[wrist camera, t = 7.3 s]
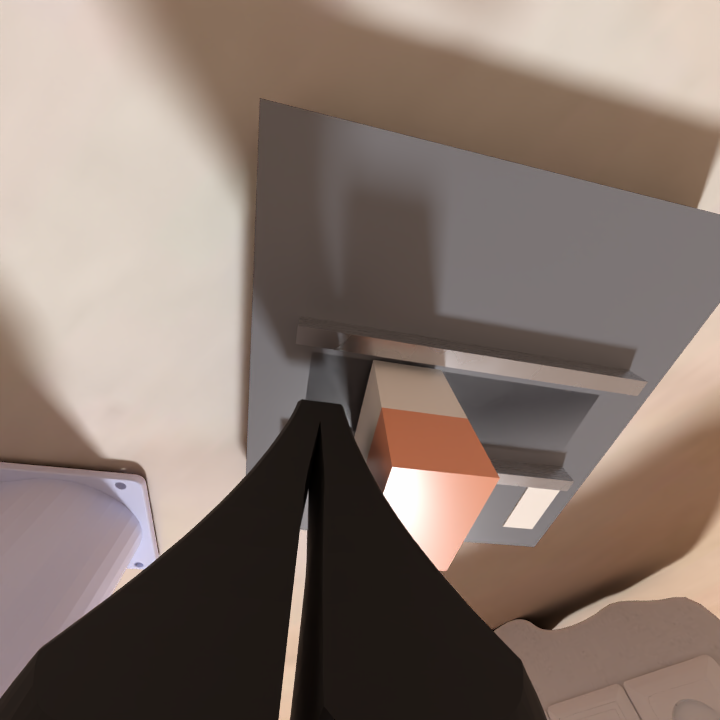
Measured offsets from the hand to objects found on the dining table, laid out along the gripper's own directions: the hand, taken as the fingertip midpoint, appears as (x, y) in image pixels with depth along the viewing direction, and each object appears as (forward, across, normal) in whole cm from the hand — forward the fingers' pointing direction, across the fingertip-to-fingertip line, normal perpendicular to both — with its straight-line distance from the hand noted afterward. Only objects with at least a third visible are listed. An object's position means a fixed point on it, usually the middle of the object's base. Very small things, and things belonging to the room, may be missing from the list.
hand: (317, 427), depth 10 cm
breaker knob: (+2, -3, 0) cm, 3 cm away
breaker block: (+4, -5, 0) cm, 7 cm away
